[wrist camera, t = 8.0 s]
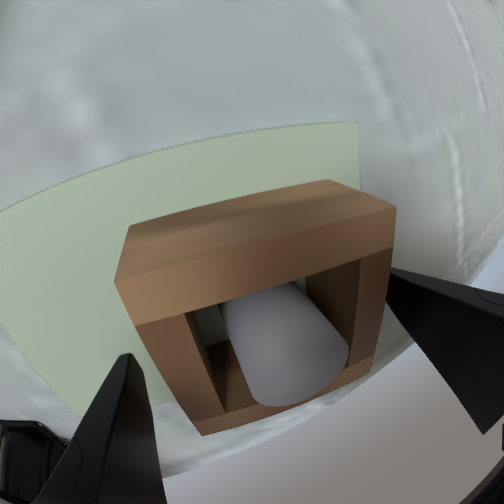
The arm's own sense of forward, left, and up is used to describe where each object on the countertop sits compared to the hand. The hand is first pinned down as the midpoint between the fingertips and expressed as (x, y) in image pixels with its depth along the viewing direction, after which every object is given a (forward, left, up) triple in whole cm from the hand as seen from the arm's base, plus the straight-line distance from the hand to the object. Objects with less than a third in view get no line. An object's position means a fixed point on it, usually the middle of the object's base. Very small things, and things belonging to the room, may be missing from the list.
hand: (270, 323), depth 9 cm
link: (0, 0, -2) cm, 2 cm away
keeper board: (-3, 0, -3) cm, 4 cm away
